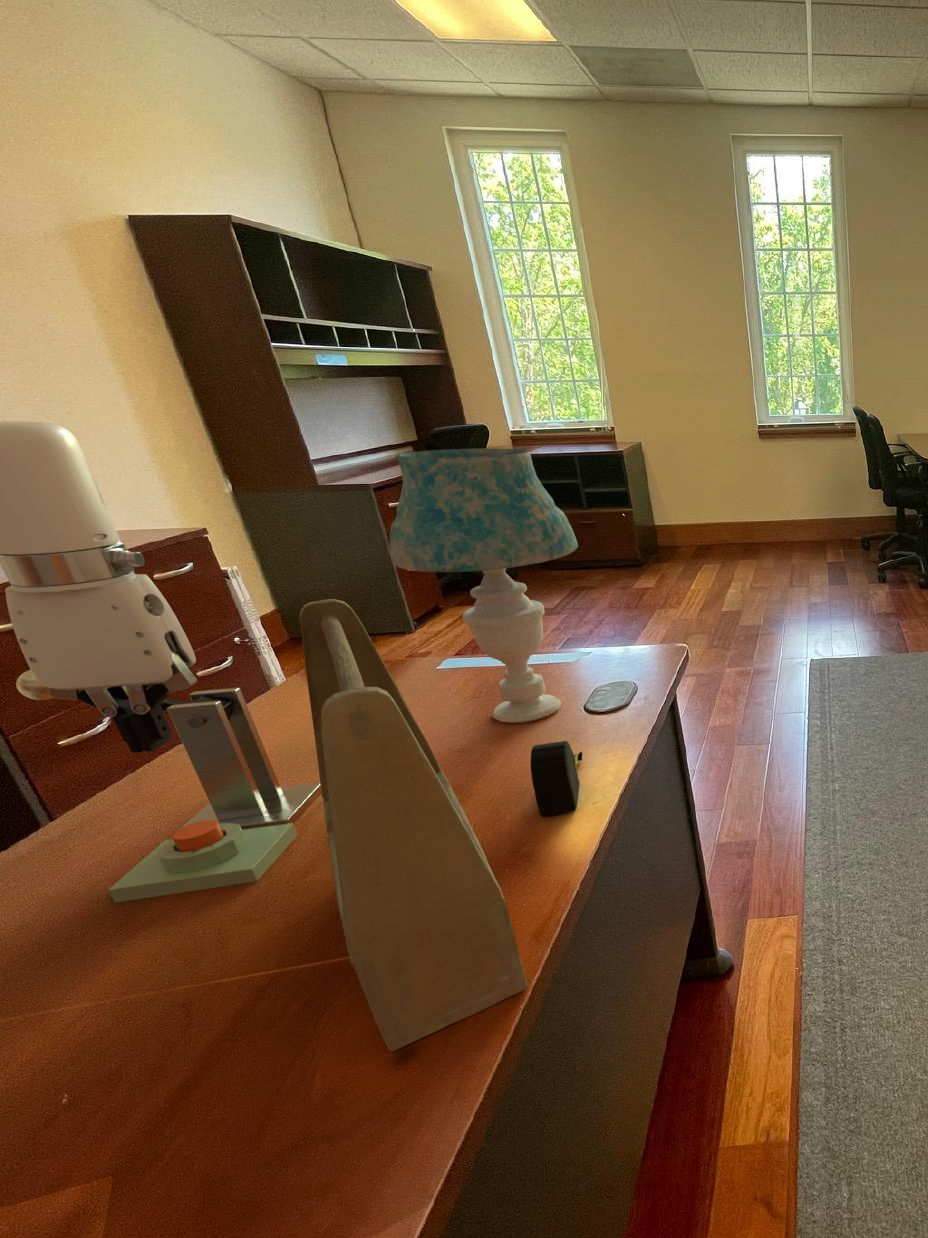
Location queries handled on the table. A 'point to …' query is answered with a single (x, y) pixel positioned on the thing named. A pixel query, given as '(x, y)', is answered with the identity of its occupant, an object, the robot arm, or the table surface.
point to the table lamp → (486, 552)
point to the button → (197, 835)
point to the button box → (205, 863)
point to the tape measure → (555, 777)
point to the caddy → (400, 846)
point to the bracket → (235, 765)
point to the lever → (37, 691)
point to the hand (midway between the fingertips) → (152, 745)
